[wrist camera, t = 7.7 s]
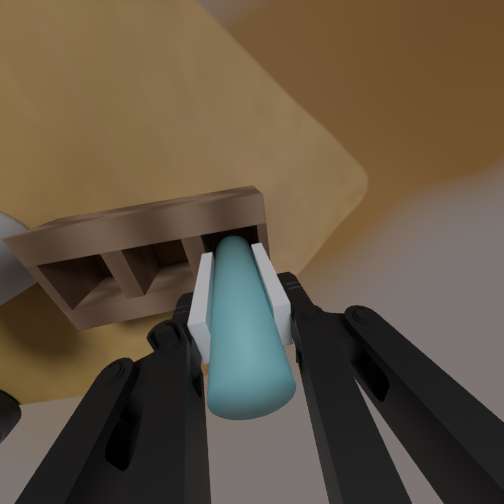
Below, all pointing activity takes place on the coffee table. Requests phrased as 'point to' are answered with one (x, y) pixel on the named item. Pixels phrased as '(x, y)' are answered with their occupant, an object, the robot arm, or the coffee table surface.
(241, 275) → the peg
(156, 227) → the hole block
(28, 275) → the mug
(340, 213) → the coffee table surface
